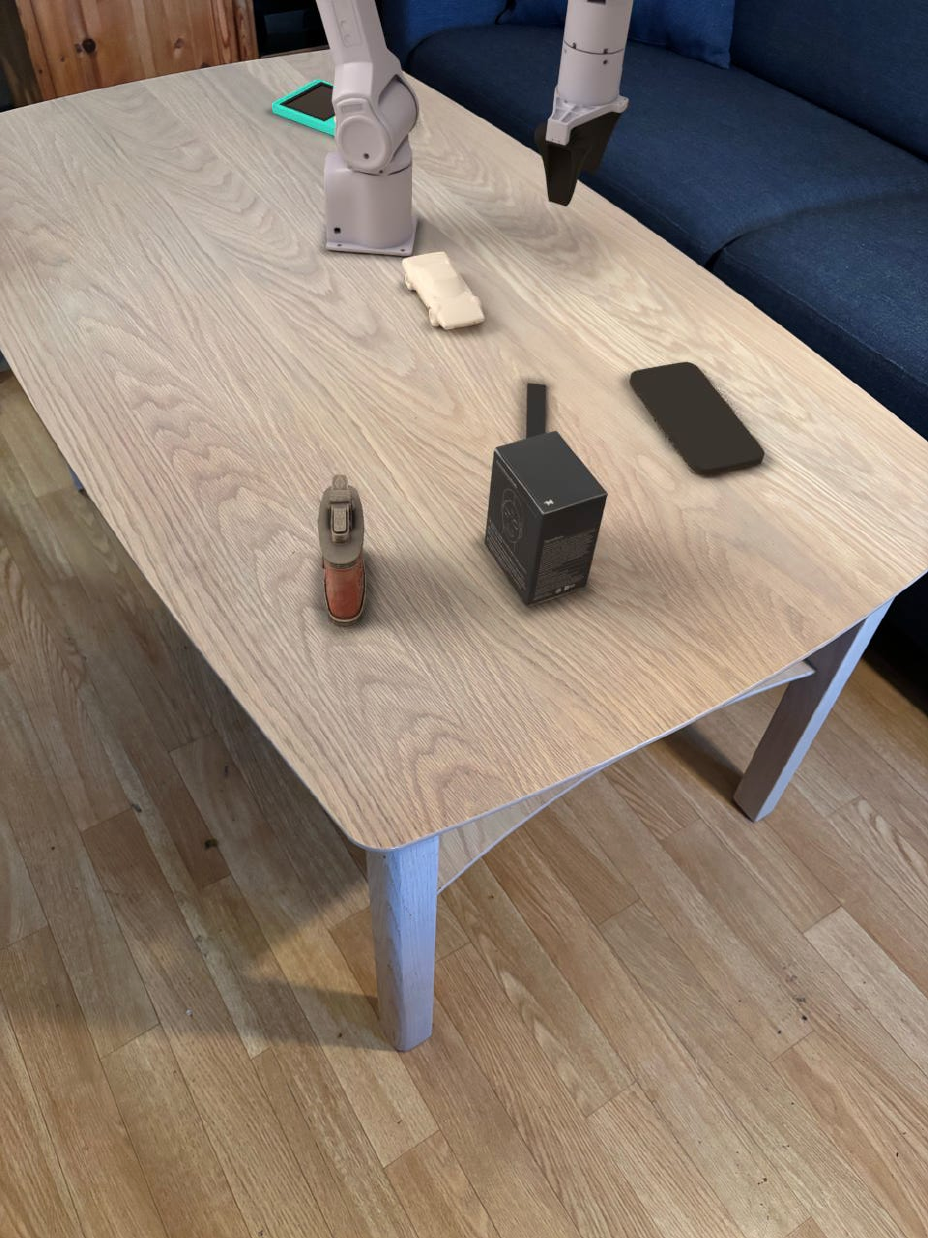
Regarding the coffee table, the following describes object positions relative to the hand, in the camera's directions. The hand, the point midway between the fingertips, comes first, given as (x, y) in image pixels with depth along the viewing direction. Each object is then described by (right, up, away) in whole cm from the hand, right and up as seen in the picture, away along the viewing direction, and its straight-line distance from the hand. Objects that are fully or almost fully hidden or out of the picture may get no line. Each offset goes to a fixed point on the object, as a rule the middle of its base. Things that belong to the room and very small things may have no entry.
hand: (573, 186), depth 99 cm
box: (-5, -40, -19) cm, 45 cm away
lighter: (-21, -42, -22) cm, 52 cm away
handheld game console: (-27, +21, +28) cm, 44 cm away
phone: (+11, -25, -7) cm, 28 cm away
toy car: (-13, -11, +3) cm, 18 cm away
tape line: (-5, -27, -10) cm, 29 cm away
